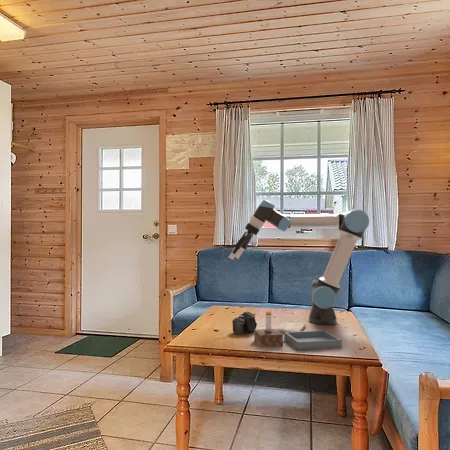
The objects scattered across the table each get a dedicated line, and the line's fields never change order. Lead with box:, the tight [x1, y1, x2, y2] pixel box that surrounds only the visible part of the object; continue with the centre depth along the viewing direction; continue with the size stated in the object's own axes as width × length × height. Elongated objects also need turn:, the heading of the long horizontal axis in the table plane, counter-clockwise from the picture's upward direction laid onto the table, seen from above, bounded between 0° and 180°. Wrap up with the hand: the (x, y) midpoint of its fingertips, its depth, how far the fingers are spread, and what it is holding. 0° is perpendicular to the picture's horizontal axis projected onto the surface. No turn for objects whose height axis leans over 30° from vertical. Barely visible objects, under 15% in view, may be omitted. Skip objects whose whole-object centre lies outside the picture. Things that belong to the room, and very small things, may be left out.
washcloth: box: [275, 321, 307, 335], centre depth 188 cm, size 12×18×3 cm, turn 158°
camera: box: [231, 310, 258, 336], centre depth 183 cm, size 13×10×10 cm
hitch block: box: [253, 328, 284, 348], centre depth 164 cm, size 10×10×5 cm
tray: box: [283, 329, 343, 352], centre depth 164 cm, size 20×16×4 cm
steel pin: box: [265, 310, 272, 333], centre depth 165 cm, size 2×2×14 cm
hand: (233, 258), depth 205 cm, fingers open, 13 cm apart
